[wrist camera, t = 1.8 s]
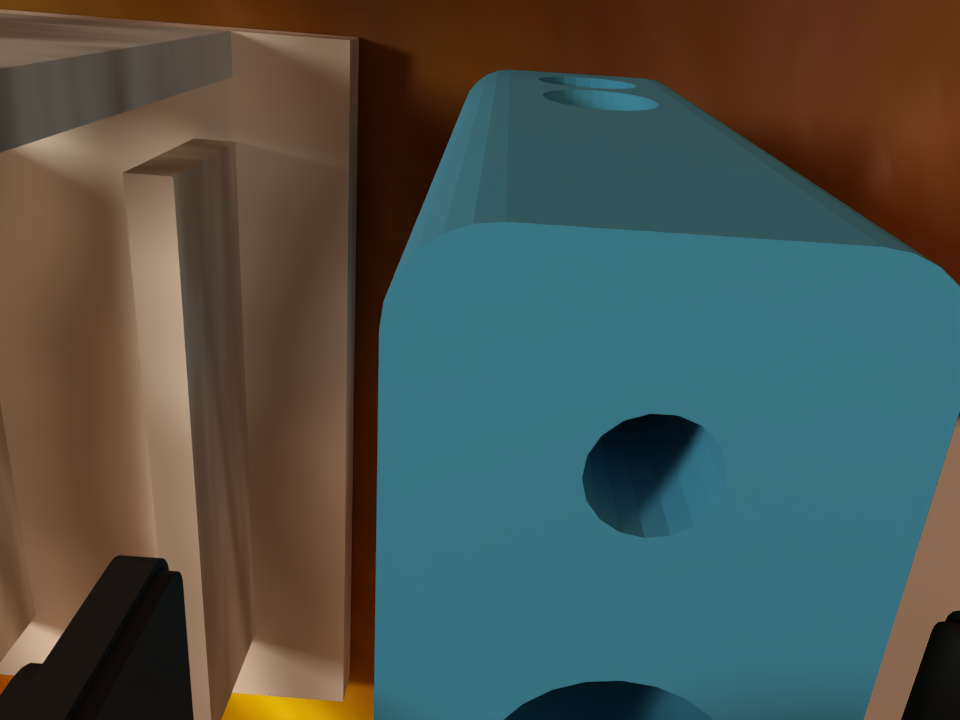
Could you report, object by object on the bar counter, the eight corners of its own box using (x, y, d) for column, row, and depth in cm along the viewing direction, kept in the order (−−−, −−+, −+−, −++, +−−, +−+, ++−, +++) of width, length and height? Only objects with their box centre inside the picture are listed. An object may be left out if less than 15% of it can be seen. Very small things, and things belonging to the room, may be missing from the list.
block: (476, 47, 25) (381, 213, 7) (647, 58, 25) (1009, 255, 7) (456, 414, 30) (368, 1088, 12) (600, 424, 30) (739, 1115, 12)
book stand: (359, 37, 25) (160, 105, 11) (349, 673, 35) (237, 1148, 21) (-188, -6, 25) (-1085, 7, 11) (-48, 641, 35) (-433, 1093, 21)
